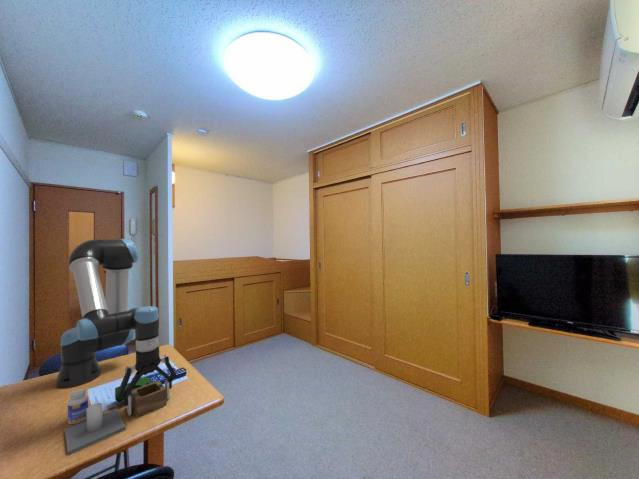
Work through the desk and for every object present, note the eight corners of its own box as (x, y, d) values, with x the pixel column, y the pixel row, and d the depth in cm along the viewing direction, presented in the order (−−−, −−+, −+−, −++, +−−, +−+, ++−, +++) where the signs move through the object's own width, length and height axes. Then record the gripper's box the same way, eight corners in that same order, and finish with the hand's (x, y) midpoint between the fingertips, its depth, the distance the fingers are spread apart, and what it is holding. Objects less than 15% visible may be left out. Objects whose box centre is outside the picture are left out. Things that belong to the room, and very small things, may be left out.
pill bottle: (71, 426, 90) (70, 398, 90) (65, 421, 93) (64, 393, 93) (91, 417, 95) (90, 390, 95) (85, 412, 98) (84, 386, 98)
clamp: (124, 415, 103) (113, 400, 99) (120, 405, 107) (109, 391, 102) (157, 391, 110) (148, 377, 106) (152, 383, 114) (143, 369, 110)
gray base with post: (64, 431, 88) (64, 407, 88) (117, 411, 98) (116, 389, 98) (67, 455, 78) (67, 428, 78) (125, 429, 89) (124, 405, 89)
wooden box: (131, 406, 101) (130, 390, 101) (159, 394, 108) (158, 380, 108) (137, 417, 95) (137, 400, 95) (166, 404, 102) (166, 389, 101)
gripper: (109, 362, 90) (111, 426, 90) (184, 341, 107) (186, 394, 107) (105, 356, 95) (107, 416, 95) (178, 337, 112) (179, 387, 113)
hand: (149, 405), depth 101 cm, fingers open, 12 cm apart
